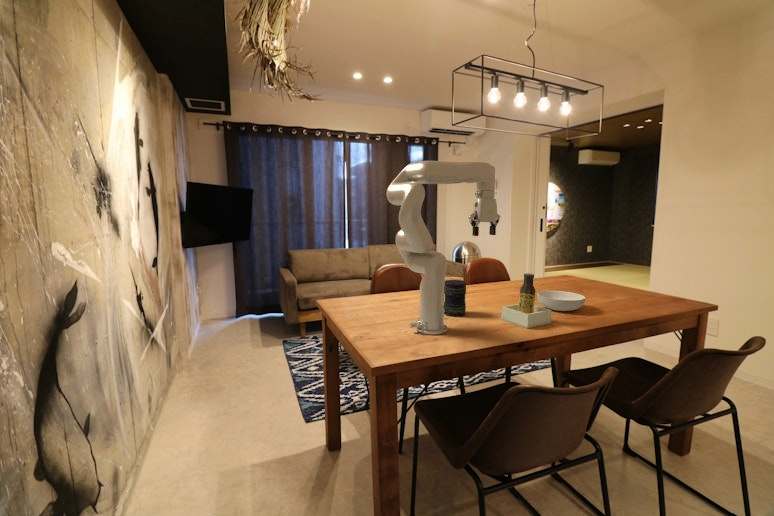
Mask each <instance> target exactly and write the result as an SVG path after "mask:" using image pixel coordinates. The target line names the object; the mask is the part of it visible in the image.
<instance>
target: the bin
mask: <svg viewBox="0 0 774 516" xmlns="http://www.w3.org/2000/svg"><path fill="white" fill-rule="evenodd" d="M518 306H519V303H515V304H509V305H504V306H501V318H500V319H501V321H504V322H507V323H509V324H512V325H515V326H518V327H521V328H523V327H524V329H526V328H527V329H526V330H529V329H532V328H533V327H534V328H537V326H538V327H543V326H545V325H546V324H547V325H550V324H552V311H553V310H552V309H550V308H547V307H543V306H542V307H541V306H539V305H535V304H534V313H530V314H526V313H523V312H520V311H518Z"/></svg>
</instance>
